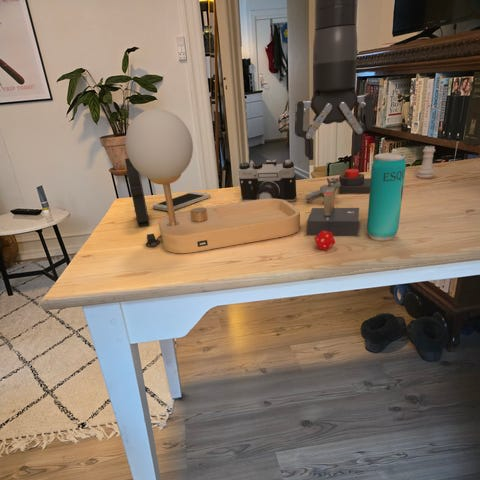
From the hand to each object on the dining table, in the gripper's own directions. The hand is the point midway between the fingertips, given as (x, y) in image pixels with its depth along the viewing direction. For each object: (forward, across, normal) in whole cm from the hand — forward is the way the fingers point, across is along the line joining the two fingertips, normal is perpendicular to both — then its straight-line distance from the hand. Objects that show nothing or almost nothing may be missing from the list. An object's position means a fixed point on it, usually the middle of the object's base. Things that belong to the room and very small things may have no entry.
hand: (332, 157), depth 80 cm
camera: (+14, +12, -22) cm, 29 cm away
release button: (+11, -11, -29) cm, 33 cm away
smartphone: (+14, +35, -30) cm, 48 cm away
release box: (+14, -13, -28) cm, 34 cm away
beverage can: (+14, -8, +8) cm, 19 cm away
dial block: (+14, 0, +1) cm, 14 cm away
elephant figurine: (+14, -2, -18) cm, 23 cm away
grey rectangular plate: (+11, 0, 0) cm, 11 cm away
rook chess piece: (+14, -34, -35) cm, 51 cm away
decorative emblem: (+14, +43, -15) cm, 48 cm away
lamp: (+14, +23, -1) cm, 27 cm away
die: (+14, +4, +12) cm, 19 cm away
